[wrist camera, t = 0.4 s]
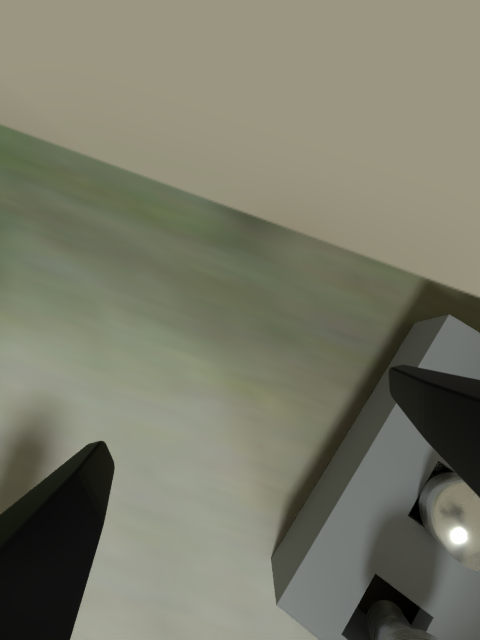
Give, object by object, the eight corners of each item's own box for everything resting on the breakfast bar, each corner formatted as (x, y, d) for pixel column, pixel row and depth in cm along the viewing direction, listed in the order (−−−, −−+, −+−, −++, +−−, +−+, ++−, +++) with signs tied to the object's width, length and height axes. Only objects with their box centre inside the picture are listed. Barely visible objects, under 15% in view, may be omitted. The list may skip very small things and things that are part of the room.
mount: (548, 406, 22) (615, 416, 18) (411, 669, 19) (454, 748, 15) (414, 322, 23) (449, 314, 19) (271, 558, 21) (276, 605, 17)
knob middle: (465, 480, 20) (534, 517, 15) (436, 534, 19) (497, 590, 15) (412, 443, 20) (462, 468, 16) (382, 495, 20) (424, 537, 15)
